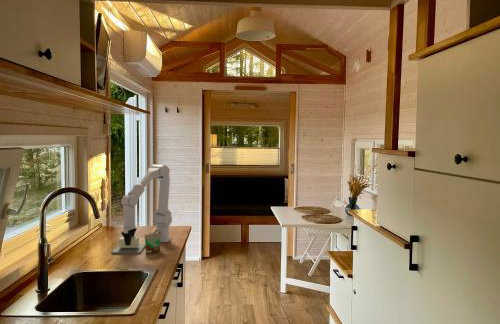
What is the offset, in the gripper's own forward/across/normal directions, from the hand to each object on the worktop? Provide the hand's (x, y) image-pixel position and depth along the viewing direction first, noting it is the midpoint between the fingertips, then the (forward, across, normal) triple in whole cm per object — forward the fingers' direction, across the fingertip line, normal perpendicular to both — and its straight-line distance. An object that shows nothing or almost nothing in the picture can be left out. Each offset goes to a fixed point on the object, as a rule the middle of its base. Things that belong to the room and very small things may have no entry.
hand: (129, 243), depth 193 cm
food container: (+4, +2, +14) cm, 15 cm away
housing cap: (+1, 0, 0) cm, 1 cm away
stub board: (+3, 0, 0) cm, 3 cm away
